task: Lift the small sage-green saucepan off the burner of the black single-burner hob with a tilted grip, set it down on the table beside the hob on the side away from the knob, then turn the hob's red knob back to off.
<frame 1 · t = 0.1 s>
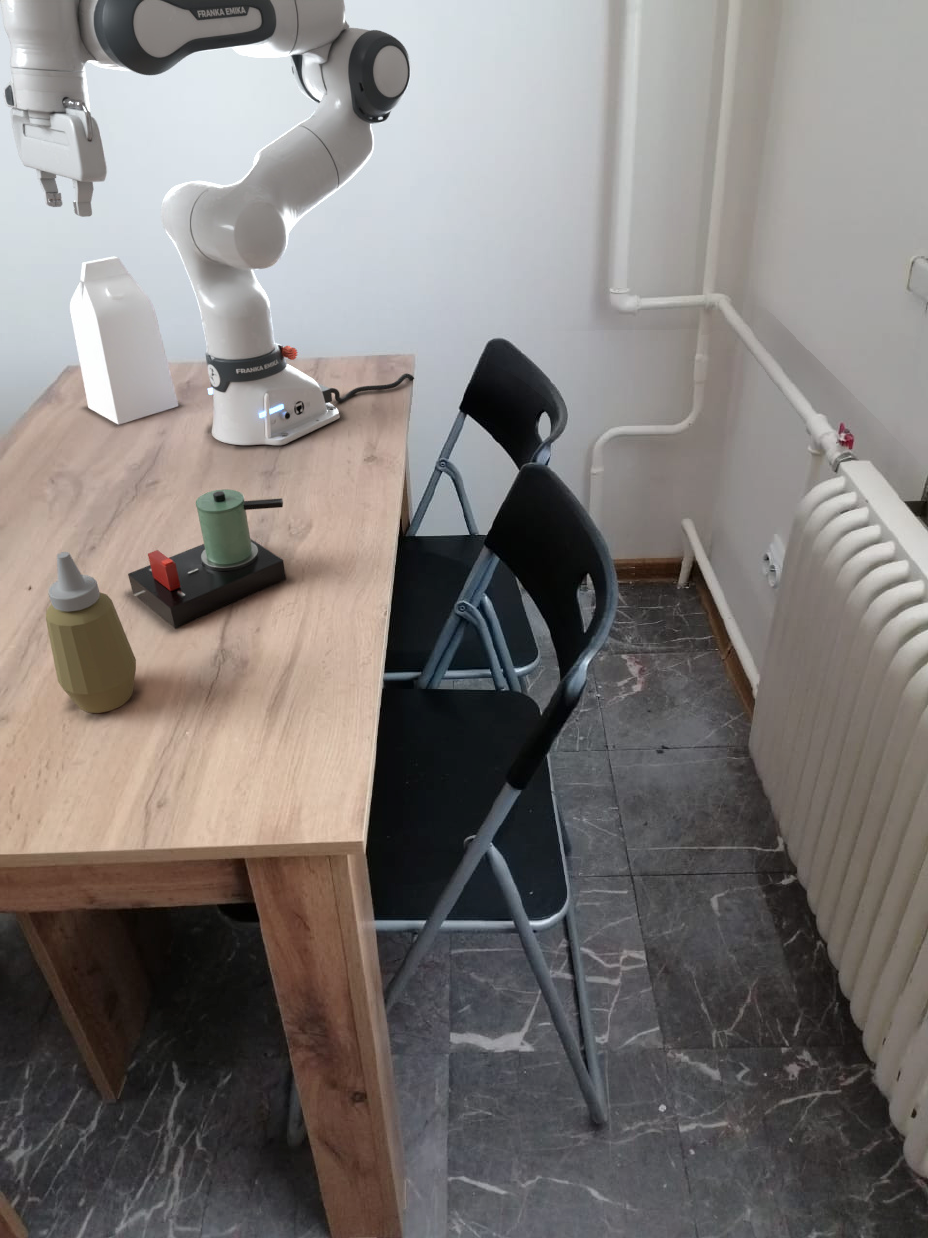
hand: (68, 210, 129), 39 cm above the table, tool pointing down, fingers open, 8 cm apart
hob: (210, 586, 121), on the table
milk: (133, 407, 173), on the table
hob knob: (163, 569, 115), point 5 cm above the table, hinge at 90.0°
squeeze bottle: (105, 698, 103), on the table
saucepan: (229, 552, 121), point 4 cm above the table, touching burner
burner: (233, 576, 123), resting on hob
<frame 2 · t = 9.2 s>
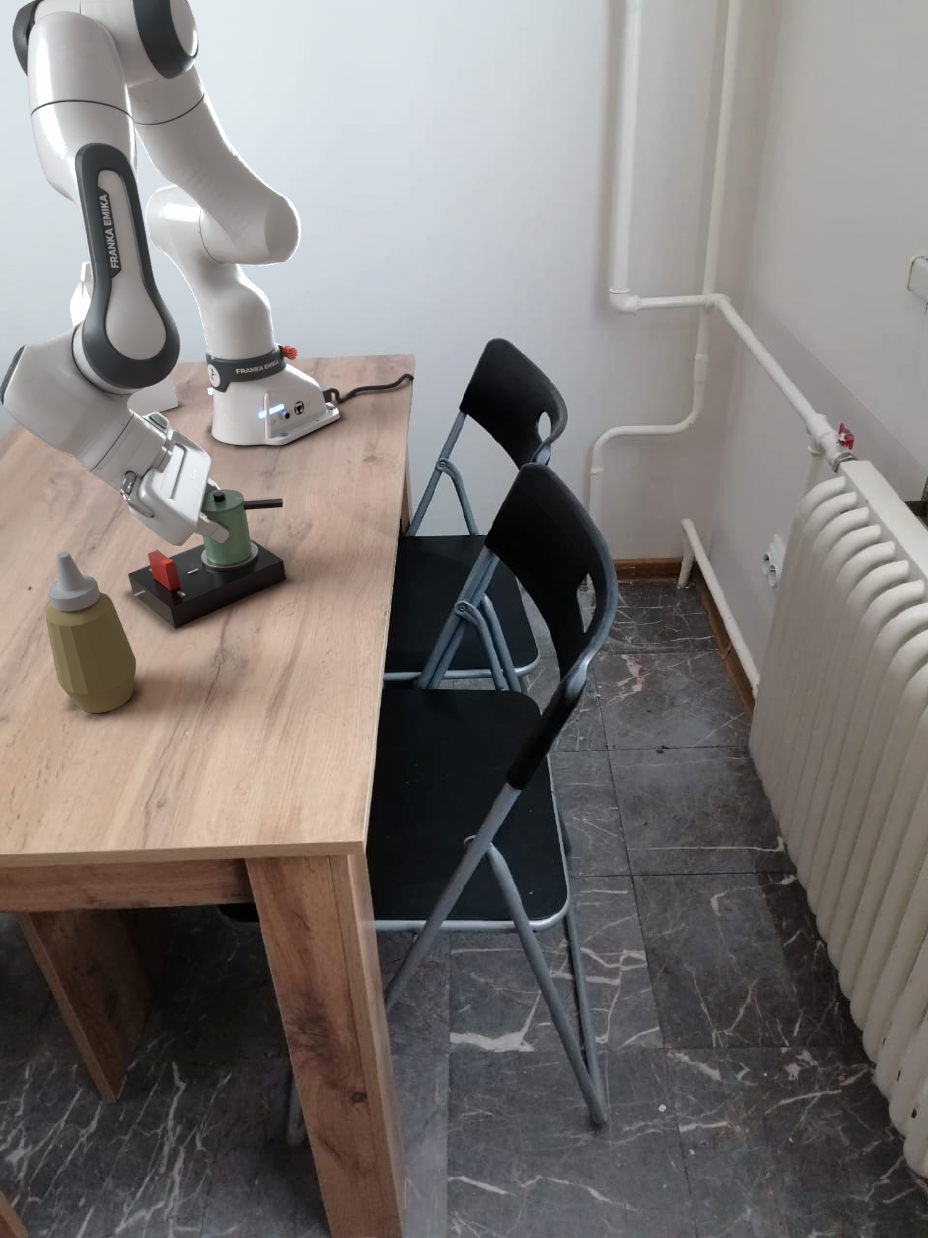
hand: (229, 522, 119), 8 cm above the table, tool tilted 45°, fingers closed on saucepan, 6 cm apart
saucepan: (229, 552, 121), point 4 cm above the table, touching burner, gripper
everything else where it was.
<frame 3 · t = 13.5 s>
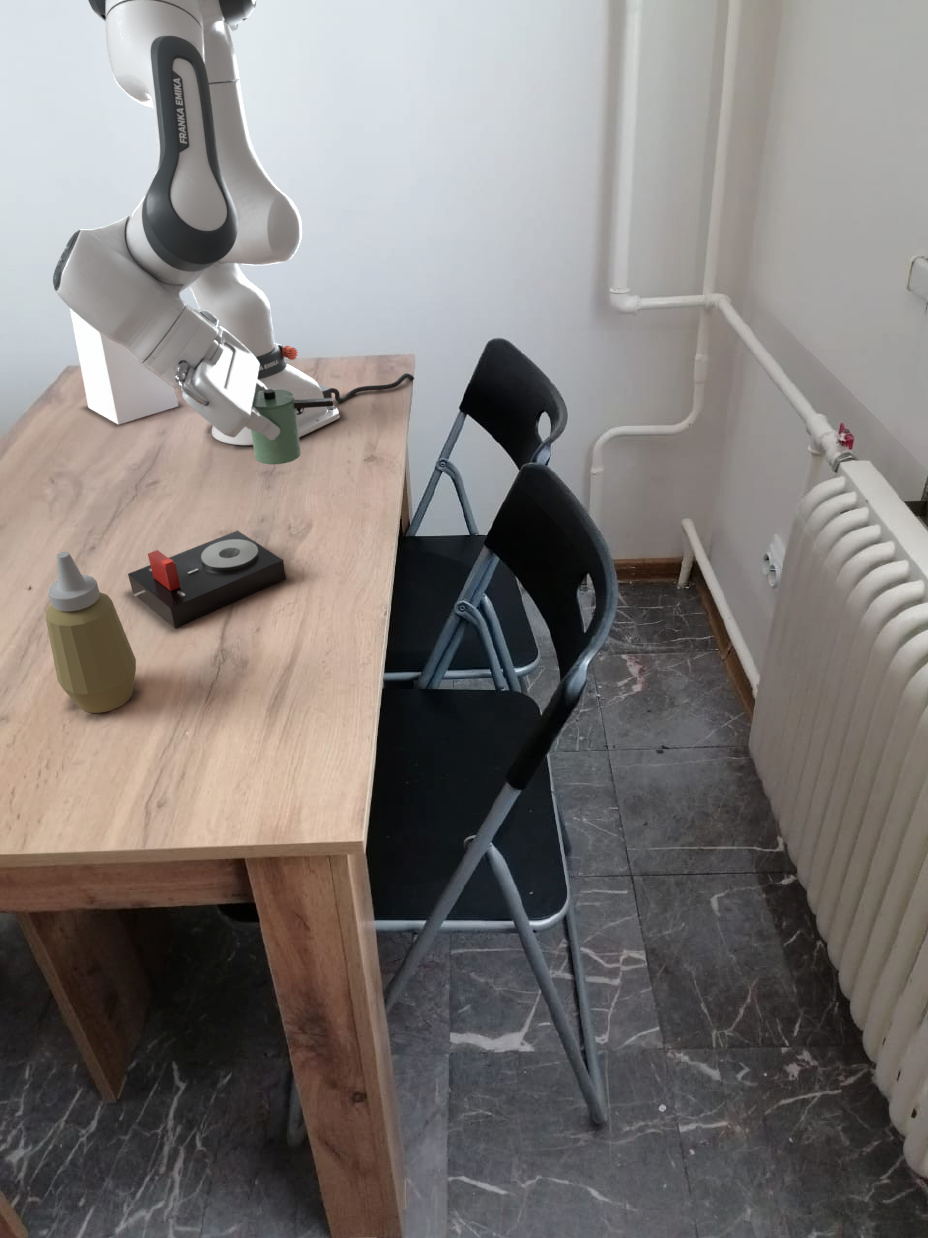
hand: (278, 422, 118), 19 cm above the table, tool tilted 45°, fingers closed on saucepan, 6 cm apart
saucepan: (277, 454, 120), point 14 cm above the table, touching gripper
everything else where it was.
when the fingers open (4 cm above the table, at t = 17.9 s): saucepan stays where it is, on the table.
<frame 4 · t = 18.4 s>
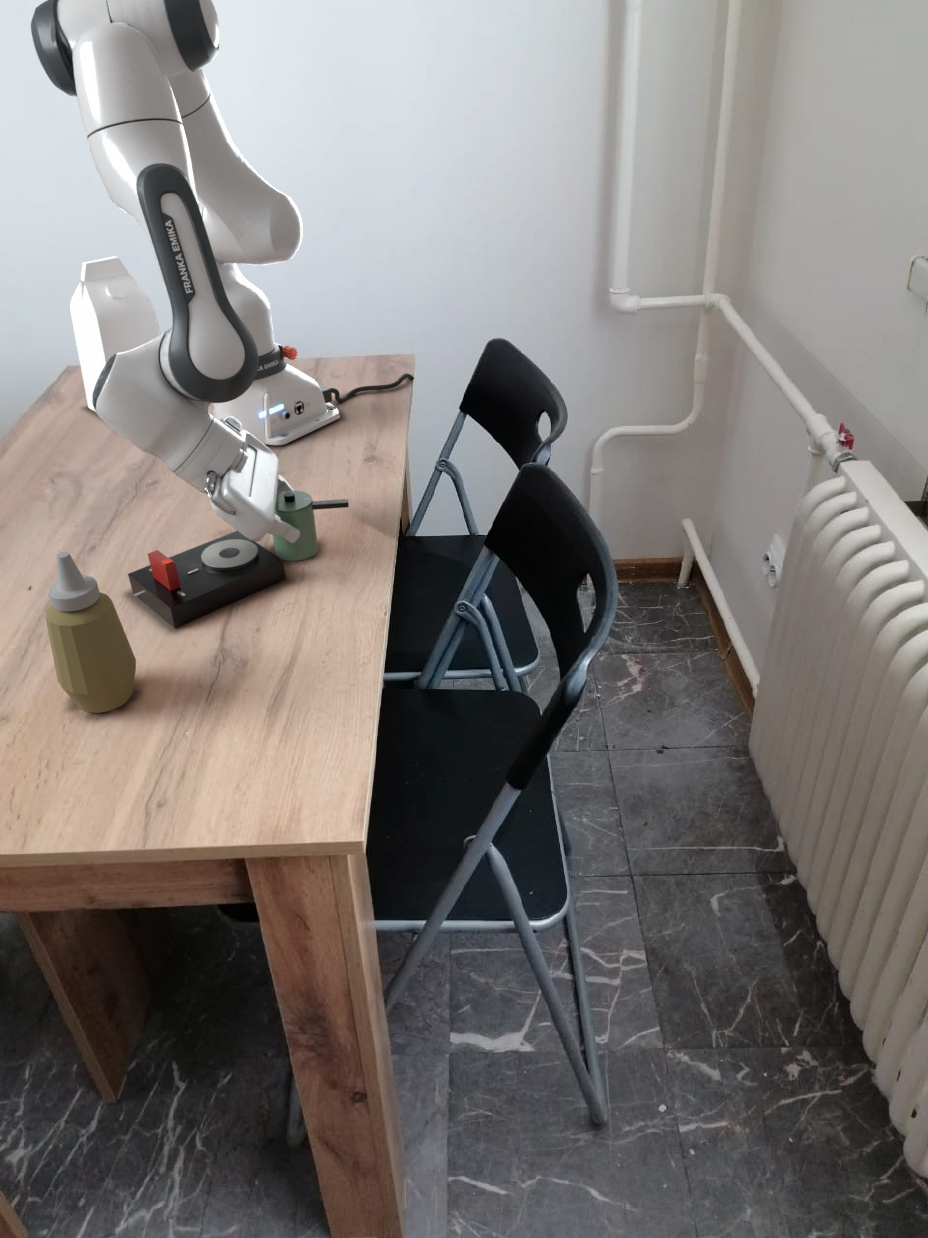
hand: (298, 519, 126), 5 cm above the table, tool tilted 45°, fingers open, 8 cm apart
saucepan: (296, 550, 128), on the table
everything else where it was.
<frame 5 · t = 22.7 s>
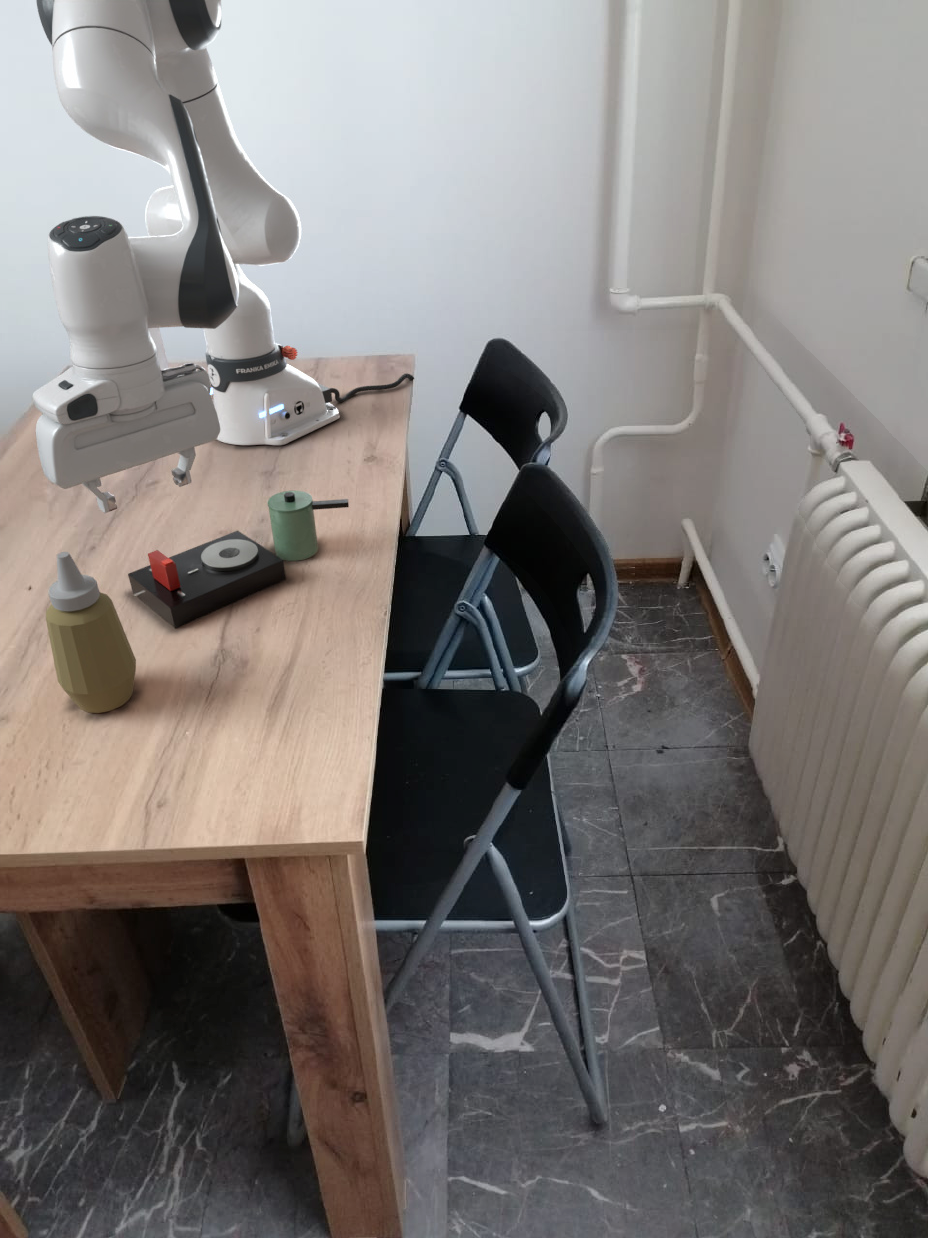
hand: (146, 496, 110), 15 cm above the table, tool pointing down, fingers open, 8 cm apart
nothing on the table moved.
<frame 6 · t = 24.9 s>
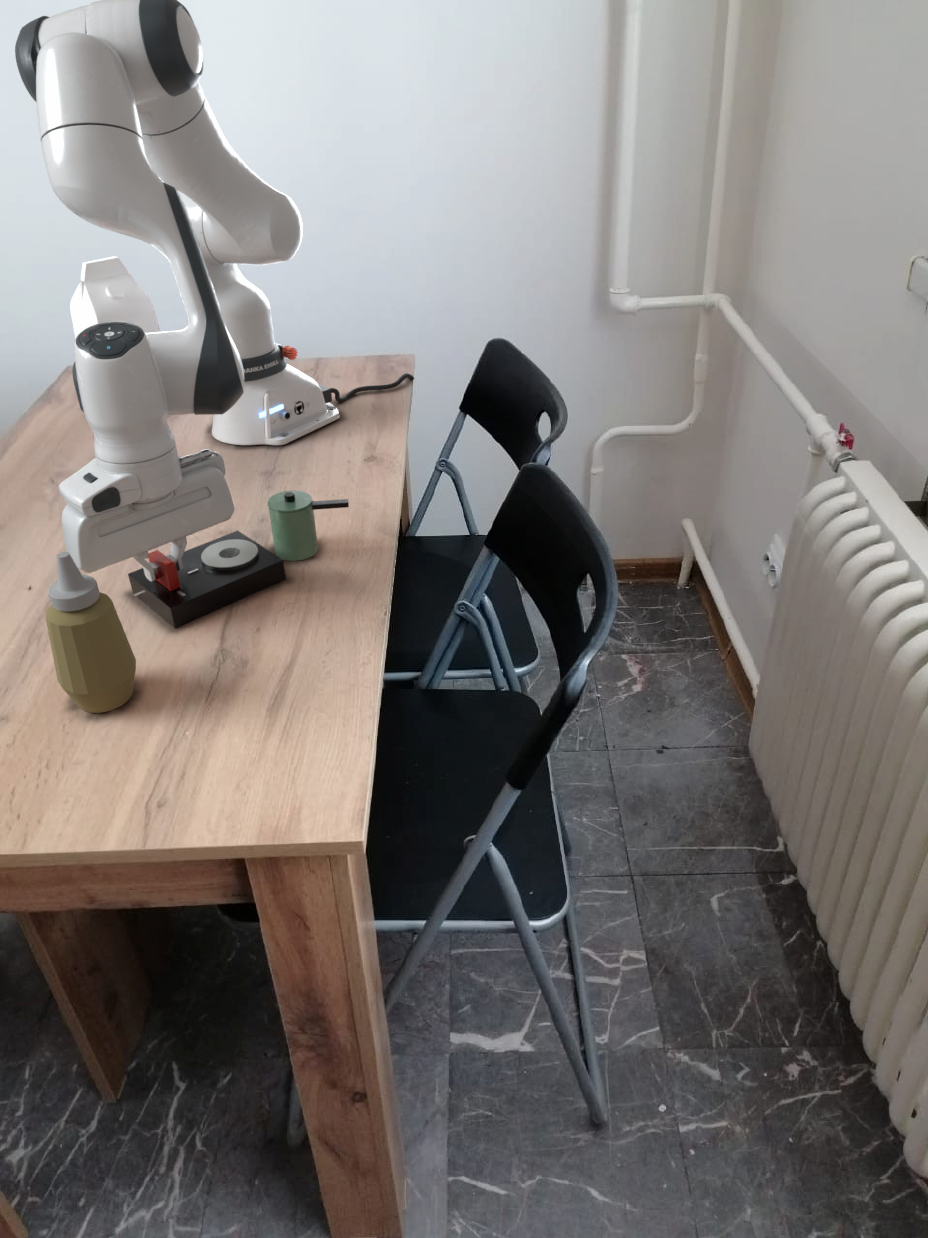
hand: (164, 573, 116), 4 cm above the table, tool pointing down, fingers closed on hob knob
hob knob: (163, 569, 115), point 5 cm above the table, hinge at 90.0°, touching gripper
everything else where it was.
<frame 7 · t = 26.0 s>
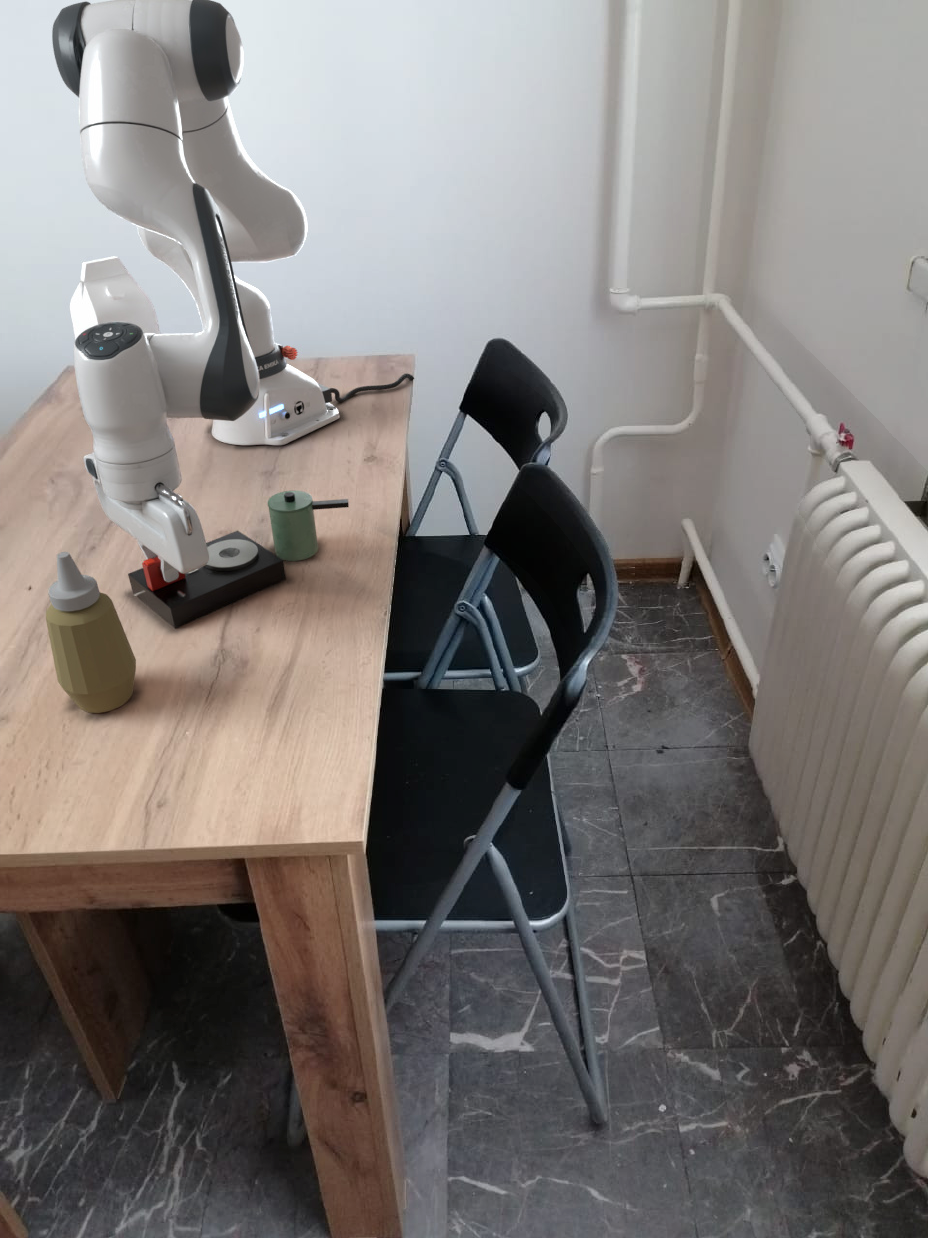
hand: (164, 574, 116), 4 cm above the table, tool pointing down, fingers closed
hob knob: (163, 569, 115), point 5 cm above the table, hinge at -0.1°, touching gripper
everything else where it was.
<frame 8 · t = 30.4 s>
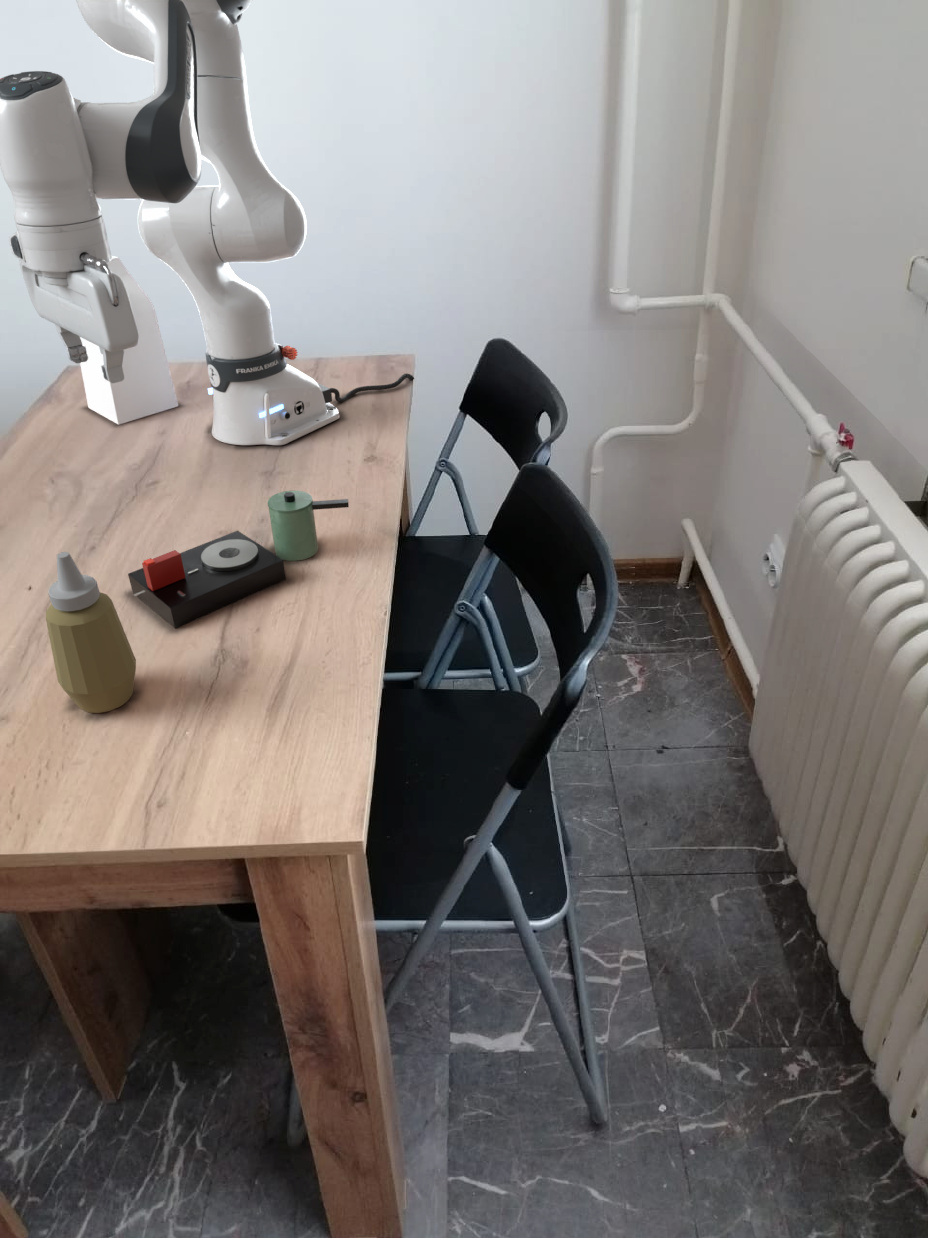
hand: (96, 370, 110), 27 cm above the table, tool pointing down, fingers open, 8 cm apart
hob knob: (163, 569, 115), point 5 cm above the table, hinge at 0.0°
everything else where it was.
at the end: saucepan inside the target area on the table beside the hob (1.5 cm from its centre), on the table; saucepan tilted 0°; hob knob at +0° (first picture: +90°) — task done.
